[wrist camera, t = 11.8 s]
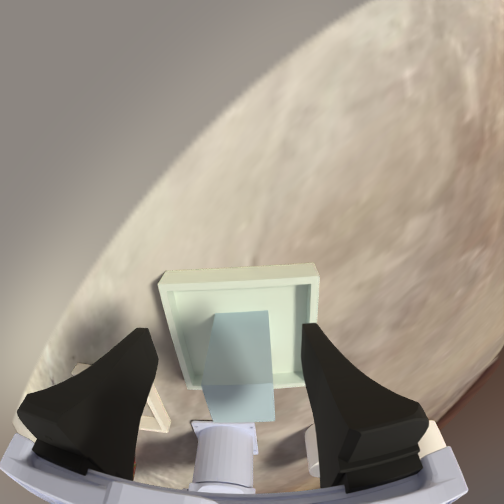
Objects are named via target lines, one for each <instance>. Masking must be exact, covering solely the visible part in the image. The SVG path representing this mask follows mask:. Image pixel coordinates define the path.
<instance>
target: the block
mask: <svg viewBox="0 0 504 504" xmlns="http://www.w3.org/2000/svg"><path fill="white" fill-rule="evenodd" d="M201 387H202V390H203V393H204V396H205V399H206V402H207V405H208V408H209V411H210V414H211V417H212V420H213V422H218V423H239V422H267V421H275V409H274V389H273V372H272V357H271V343H270V328H269V314H268V310H264V311H249V312H231V313H215V317H214V322H213V326H212V331H211V336H210V341H209V346H208V351H207V356H206V361H205V367H204V372H203V377H202V382H201Z"/></svg>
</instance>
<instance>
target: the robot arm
mask: <svg viewBox="0 0 504 504" xmlns="http://www.w3.org/2000/svg"><path fill="white" fill-rule="evenodd" d="M158 360H159V359H158V356H157V353H156V350H155V347H154V344H153V341H152V339H151V335H150V332H149V329H148V328H136V329H135V330H134V331H132V332H131V333H130V334H129V335H128V336H127V337H125V338H124V339H123V340H122V341H121V342H120V343H118V344H117V345H116V346H115V347H114V348H113V349H112V350H110V351H109V352H108V353H107V354H105V355H104V356H103V357H102V358H100V359H99V360H98V361H96V362H95V363H94V364H92V365H91V366H90V367H88V368H87V369H85V370H83V371H82V372H80V373H79V374H77V375H75V376H73V377H71V378H69V379H67V380H66V381H64V382H62V383H59V384H57V385H55V386H52V387H50V388H47V389H44V390H41V391H37V392H34V393H30V394H27V396H26V397H25V399H24V400H23V402H22V404H21V405H20V407H19V409H18V410H17V414H18V417H19V419H20V420H21V421H22V423H23V424H24V425H25V426H26V427H27V429H28V430H29V431H30V432H31V433H32V434H33V435H34V436H35V437H36V438H37V440H36V442H35V443H34V442H33V441H31V440H30V439H28V438H26V437H24V436H22V435H20V434H18V433H15V435H14V437H13V438H12V440H11V442H10V444H9V446H8V448H7V450H6V452H5V454H4V456H3V458H2V460H1V462H0V469H1V470H2V471H4V472H5V473H6V474H7V475H8V476H10V477H11V478H12V479H13V480H15V481H16V482H17V483H19V484H20V485H22V486H23V487H24V488H25V489H27V490H28V491H30V492H31V493H33V494H35V495H36V496H38V497H40V498H42V499H44V500H46V501H47V502H49V503H51V504H451V503H452V502H454V501H455V500H457V499H458V498H459V497H461V496H463V495H464V494H465V493H467V491H468V488H467V485H466V483H465V480H464V477H463V475H462V472H461V470H460V468H459V465H458V463H457V461H456V458H455V456H454V454H453V452H452V449H451V447H450V446H447V447H444V448H442V449H440V450H437V451H435V452H432V453H430V454H427V455H425V456H424V457H422V458H421V459H420V458H419V455H418V453H419V452H420V448H419V445H418V442H419V441H420V440H421V438H422V437H423V435H424V434H425V433H426V431H427V429H428V427H429V420H428V418H427V416H426V414H425V412H424V410H423V409H422V407H421V406H420V404H419V403H418V402H416V401H413V400H410V399H408V398H405V397H403V396H400V395H398V394H396V393H394V392H392V391H390V390H388V389H387V388H385V387H383V386H381V385H380V384H378V383H377V382H375V381H373V380H372V379H370V378H369V377H368V376H366V375H365V374H364V373H362V372H361V371H360V370H359V369H357V368H356V367H355V366H354V365H353V364H352V363H351V362H350V361H349V360H348V359H346V358H345V357H344V356H343V355H342V353H341V352H340V351H339V350H338V349H337V348H336V347H335V346H334V345H333V344H332V342H331V341H330V340H329V339H328V338H327V336H326V335H325V334H324V333H323V331H322V330H321V328H320V327H319V326H318V324H316V323H305V324H302V340H301V363H302V371H303V377H304V381H305V385H306V389H307V393H308V396H309V400H310V404H311V408H312V412H313V417H314V423H315V431H316V439H317V448H318V459H319V471H320V487H321V489H314V490H306V491H297V492H285V493H268V494H255V488H253V455H257V454H258V445H257V437H256V429H255V423H254V422H239V423H218V422H213V421H192V423H191V424H192V427H193V429H194V431H195V434H196V436H197V438H198V447H197V454H196V460H195V467H194V474H193V481H192V483H189V489H186V488H183V489H182V490H179V489H172V488H166V487H160V486H154V485H149V484H144V483H139V482H135V481H133V472H134V458H135V448H136V442H137V435H138V430H139V425H140V420H141V416H142V413H143V410H144V407H145V404H146V401H147V398H148V396H149V393H150V390H151V387H152V384H153V382H154V379H155V375H156V371H157V366H158Z"/></svg>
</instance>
